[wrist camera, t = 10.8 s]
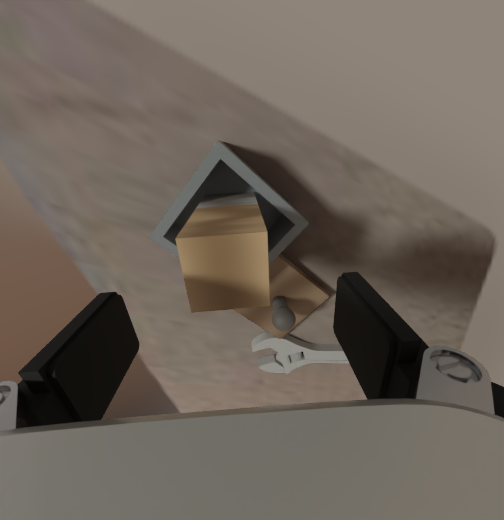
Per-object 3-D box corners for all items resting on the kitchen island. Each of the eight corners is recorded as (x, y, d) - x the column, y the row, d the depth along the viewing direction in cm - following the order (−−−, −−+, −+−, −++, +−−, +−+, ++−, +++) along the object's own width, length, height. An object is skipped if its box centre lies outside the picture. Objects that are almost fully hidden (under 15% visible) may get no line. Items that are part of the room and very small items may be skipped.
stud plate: (324, 289, 27) (344, 321, 22) (278, 330, 30) (286, 368, 25) (275, 249, 25) (284, 276, 20) (228, 298, 27) (226, 332, 22)
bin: (295, 208, 23) (309, 223, 18) (237, 270, 26) (237, 297, 21) (222, 141, 20) (217, 140, 16) (166, 219, 23) (148, 238, 18)
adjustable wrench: (429, 342, 33) (439, 352, 31) (408, 373, 36) (416, 384, 34) (256, 327, 30) (257, 337, 28) (248, 362, 33) (248, 373, 31)
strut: (253, 191, 21) (267, 231, 11) (256, 237, 23) (269, 306, 13) (204, 195, 21) (175, 238, 11) (211, 240, 23) (191, 312, 13)
